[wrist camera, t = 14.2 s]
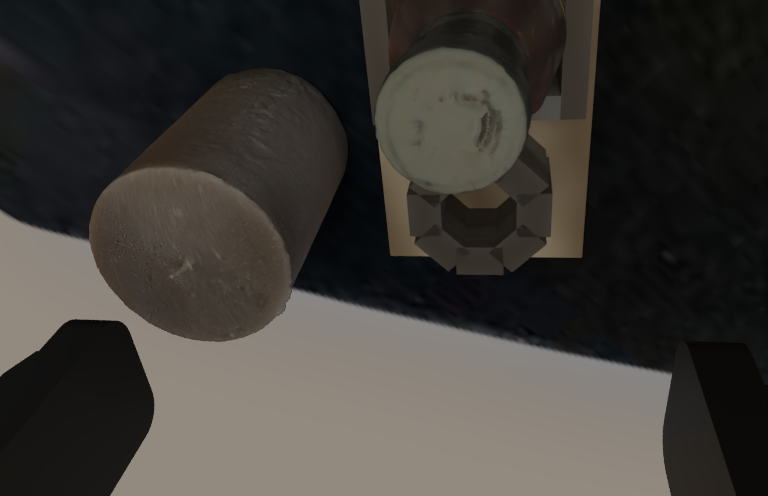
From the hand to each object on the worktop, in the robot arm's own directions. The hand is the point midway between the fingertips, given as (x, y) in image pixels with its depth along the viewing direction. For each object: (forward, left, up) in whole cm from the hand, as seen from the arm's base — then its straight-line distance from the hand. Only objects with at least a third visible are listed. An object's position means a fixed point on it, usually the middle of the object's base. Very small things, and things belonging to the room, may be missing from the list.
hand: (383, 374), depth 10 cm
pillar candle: (+13, +9, -30) cm, 34 cm away
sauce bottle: (-1, 0, -29) cm, 29 cm away
